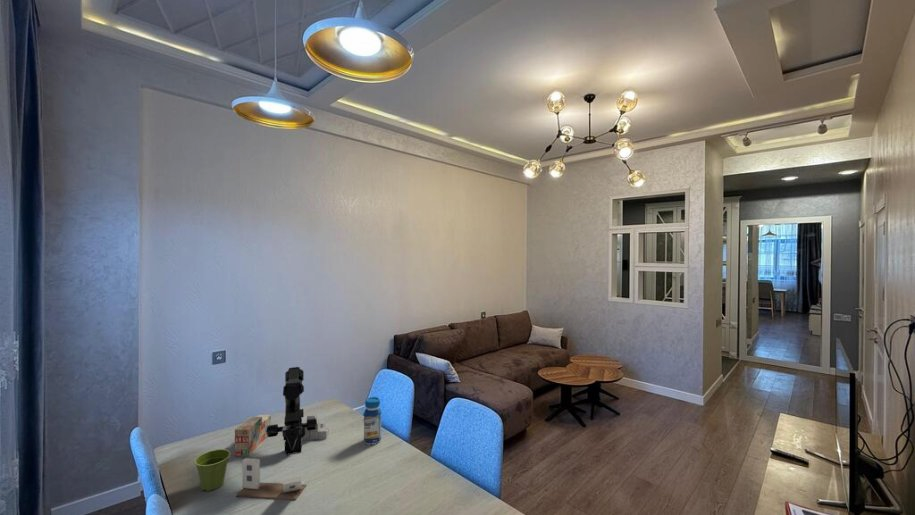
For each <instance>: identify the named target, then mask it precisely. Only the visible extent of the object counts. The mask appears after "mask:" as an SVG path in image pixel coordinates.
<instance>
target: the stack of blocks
mask: <svg viewBox="0 0 915 515" xmlns="http://www.w3.org/2000/svg"><path fill="white" fill-rule="evenodd" d="M271 416H272V415H271V414H258V415H257V416H249V417H247V418H246V420H244V421H243V422H242V423H241V424H240V425H238V426H237V427H236V428H235V429H234V457H248V456H250V455H251V454H252V453H253V452H254V451H255V450H257V448H258V447H259V446H260V445H261V444H263V442H264V441H265V440H266V439H267V438H268V437H267V433H266V431H267V427H268V426H269V425H272V417H271Z"/></svg>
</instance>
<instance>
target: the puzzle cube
mask: <svg viewBox="0 0 915 515" xmlns="http://www.w3.org/2000/svg"><path fill="white" fill-rule="evenodd" d="M314 418H315V419H317V429H316V430H311V431H308V430H307V428H305V435H304V437H301V441H302V440H327V439H328V437H329V434H330V433H329V432H330V430H329V427H326V420H321V419H318V412H309V413H308V414H307V415H306V419H303V420H302V423H307V420H308V419H314Z"/></svg>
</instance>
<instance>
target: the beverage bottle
mask: <svg viewBox="0 0 915 515" xmlns="http://www.w3.org/2000/svg"><path fill="white" fill-rule="evenodd" d="M380 401H381V400H380V398H379V397H376V396H372V397H368V398H366V399H365V403H364V404H365V410H364V412H363V442H364V443H365V444H366V445H370V444H372V445H377V444H379V443H380V442H381V441H382V421H383V420H382V418H383V417H382V410H381V408H380V405H381V402H380ZM378 442H379V443H378ZM376 443H377V444H376Z"/></svg>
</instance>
